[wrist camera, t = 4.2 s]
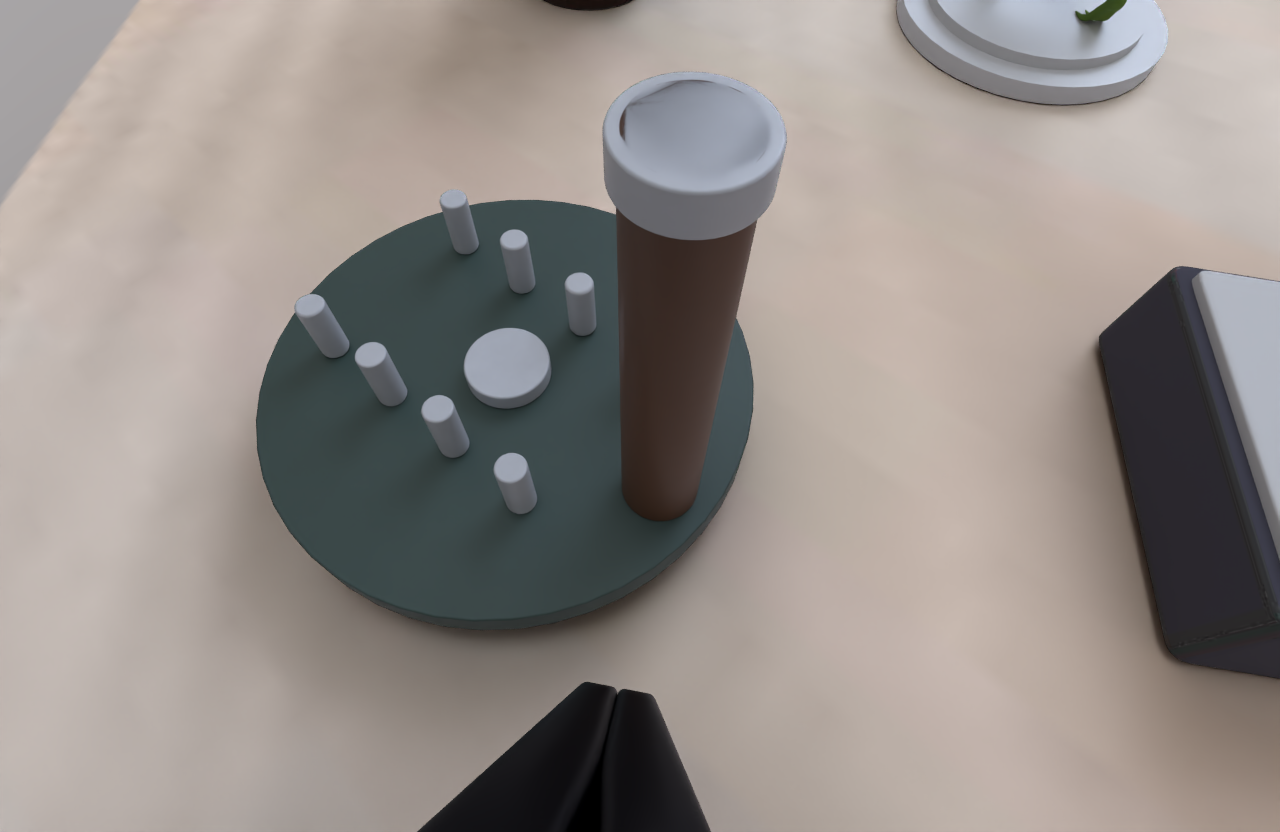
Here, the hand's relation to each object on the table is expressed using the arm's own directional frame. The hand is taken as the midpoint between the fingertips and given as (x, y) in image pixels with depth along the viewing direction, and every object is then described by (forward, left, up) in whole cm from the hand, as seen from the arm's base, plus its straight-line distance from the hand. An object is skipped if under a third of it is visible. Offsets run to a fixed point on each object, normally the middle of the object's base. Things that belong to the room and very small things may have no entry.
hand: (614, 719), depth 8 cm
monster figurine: (+35, +11, -11) cm, 38 cm away
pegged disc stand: (+4, +10, -9) cm, 14 cm away
